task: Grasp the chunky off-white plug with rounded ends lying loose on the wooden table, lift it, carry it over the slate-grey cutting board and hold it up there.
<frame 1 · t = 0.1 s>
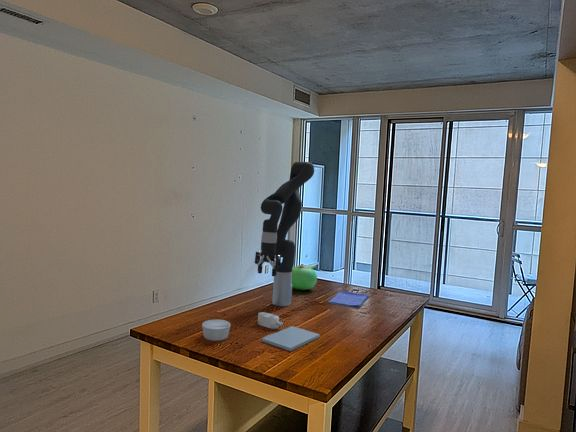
hand: (266, 274, 206), 17 cm above the kitchen island, fingers open, 8 cm apart
cutting board: (291, 339, 169), on the kitchen island
dish towel: (349, 301, 232), on the kitchen island
rounded plug: (268, 325, 184), on the kitchen island
ramekin: (215, 337, 168), on the kitchen island
green apple: (301, 289, 251), on the kitchen island
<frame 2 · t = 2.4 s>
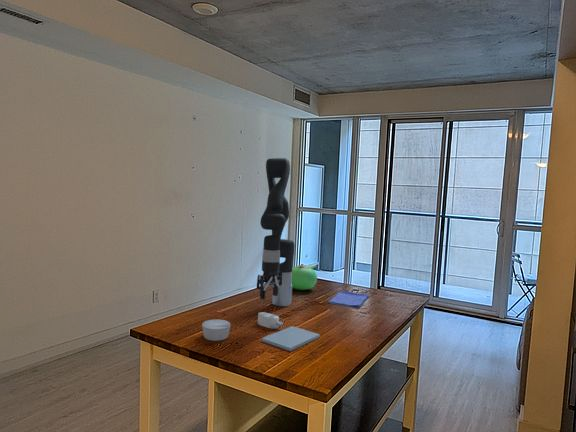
hand: (268, 297, 183), 12 cm above the kitchen island, fingers open, 8 cm apart
nothing on the kitchen island moved.
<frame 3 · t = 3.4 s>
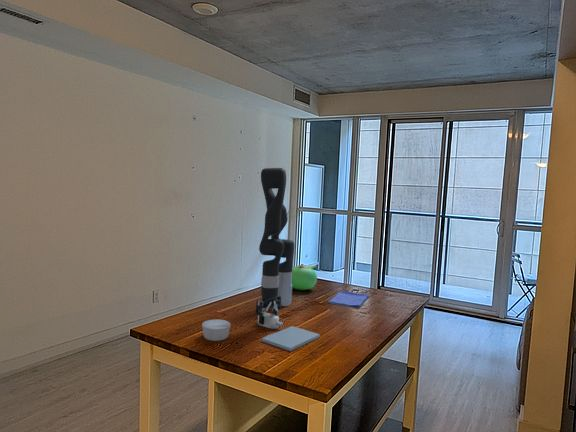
hand: (267, 322, 184), 1 cm above the kitchen island, fingers open, 8 cm apart
nothing on the kitchen island moved.
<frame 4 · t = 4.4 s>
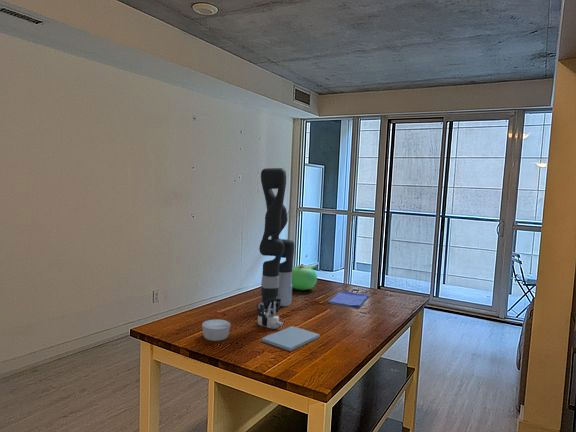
hand: (268, 324, 184), 1 cm above the kitchen island, fingers closed on rounded plug, 4 cm apart
rounded plug: (268, 325, 184), on the kitchen island, touching gripper
everything else where it was.
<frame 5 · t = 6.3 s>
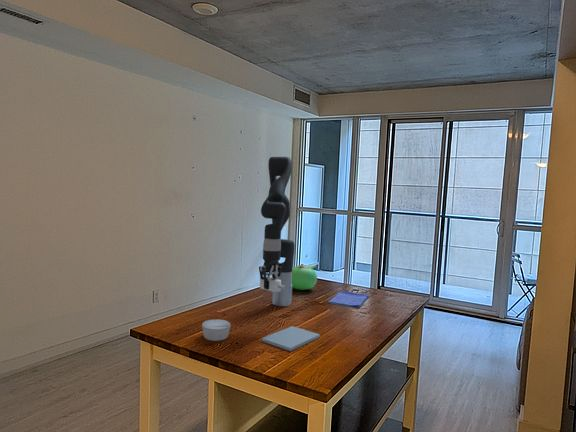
hand: (270, 287, 183), 16 cm above the kitchen island, fingers closed on rounded plug, 4 cm apart
rounded plug: (270, 289, 183), point 16 cm above the kitchen island, touching gripper
everything else where it was.
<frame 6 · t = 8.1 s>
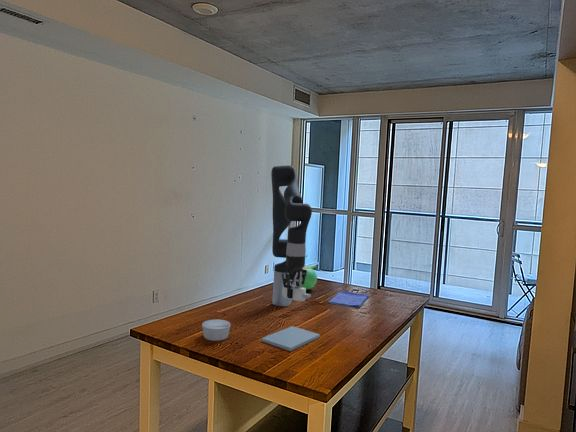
hand: (293, 296, 168), 17 cm above the kitchen island, fingers closed on rounded plug, 4 cm apart
rounded plug: (293, 298, 168), point 17 cm above the kitchen island, touching gripper
everything else where it was.
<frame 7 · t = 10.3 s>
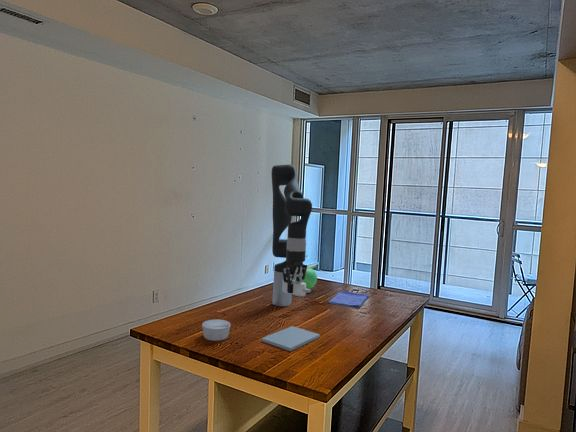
hand: (293, 291, 168), 19 cm above the kitchen island, fingers closed on rounded plug, 4 cm apart
rounded plug: (293, 293, 168), point 19 cm above the kitchen island, touching gripper
everything else where it was.
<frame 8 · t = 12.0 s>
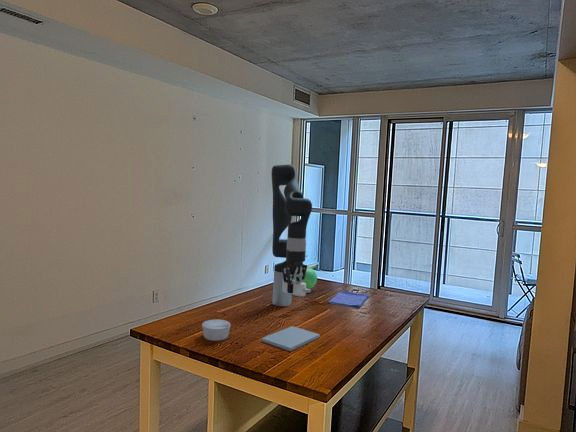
hand: (293, 291, 168), 19 cm above the kitchen island, fingers closed on rounded plug, 4 cm apart
rounded plug: (293, 293, 168), point 19 cm above the kitchen island, touching gripper
everything else where it was.
at the end: the gripper is holding rounded plug; rounded plug inside the target area on the cutting board (0.0 cm from its centre), point 18.7 cm above the cutting board's base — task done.
